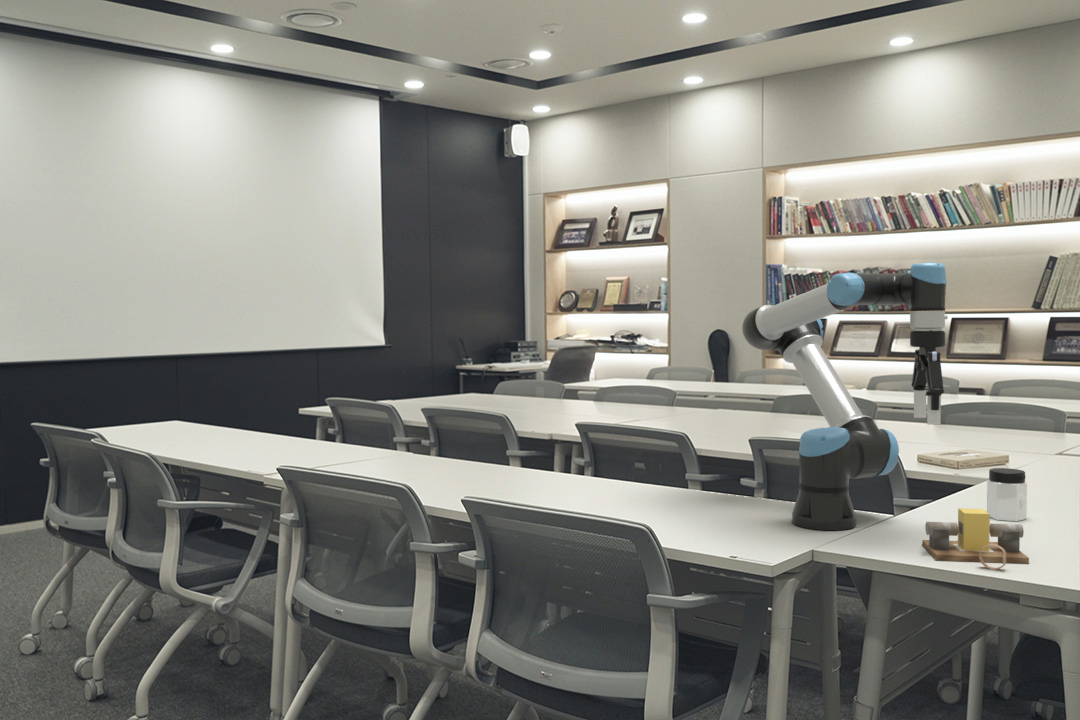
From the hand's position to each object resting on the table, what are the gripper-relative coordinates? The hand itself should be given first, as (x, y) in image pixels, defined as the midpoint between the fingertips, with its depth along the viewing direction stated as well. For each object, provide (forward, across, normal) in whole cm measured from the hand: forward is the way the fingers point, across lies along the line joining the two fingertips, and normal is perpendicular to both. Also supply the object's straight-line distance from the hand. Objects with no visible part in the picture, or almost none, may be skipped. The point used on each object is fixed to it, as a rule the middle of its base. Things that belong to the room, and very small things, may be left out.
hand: (926, 421), depth 215 cm
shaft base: (+27, -17, -6) cm, 32 cm away
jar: (+27, +21, -24) cm, 42 cm away
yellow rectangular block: (+25, -17, -6) cm, 31 cm away
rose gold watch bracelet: (+27, -28, -7) cm, 40 cm away
